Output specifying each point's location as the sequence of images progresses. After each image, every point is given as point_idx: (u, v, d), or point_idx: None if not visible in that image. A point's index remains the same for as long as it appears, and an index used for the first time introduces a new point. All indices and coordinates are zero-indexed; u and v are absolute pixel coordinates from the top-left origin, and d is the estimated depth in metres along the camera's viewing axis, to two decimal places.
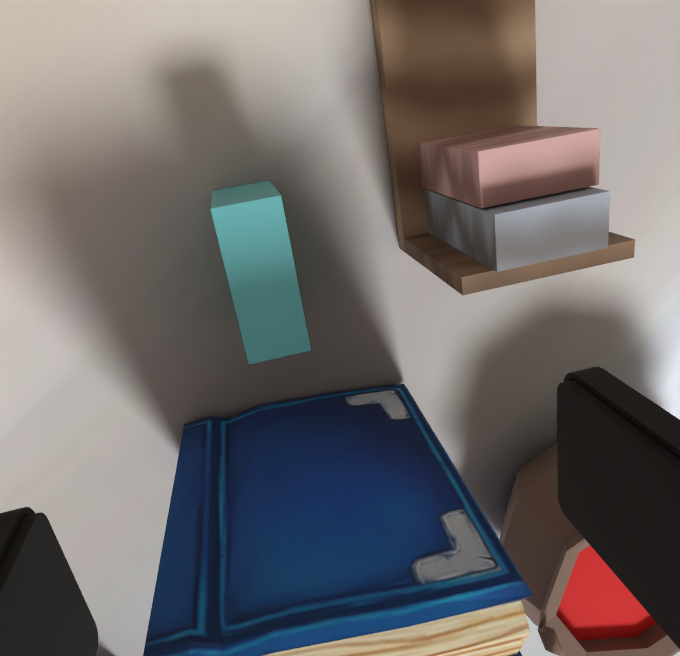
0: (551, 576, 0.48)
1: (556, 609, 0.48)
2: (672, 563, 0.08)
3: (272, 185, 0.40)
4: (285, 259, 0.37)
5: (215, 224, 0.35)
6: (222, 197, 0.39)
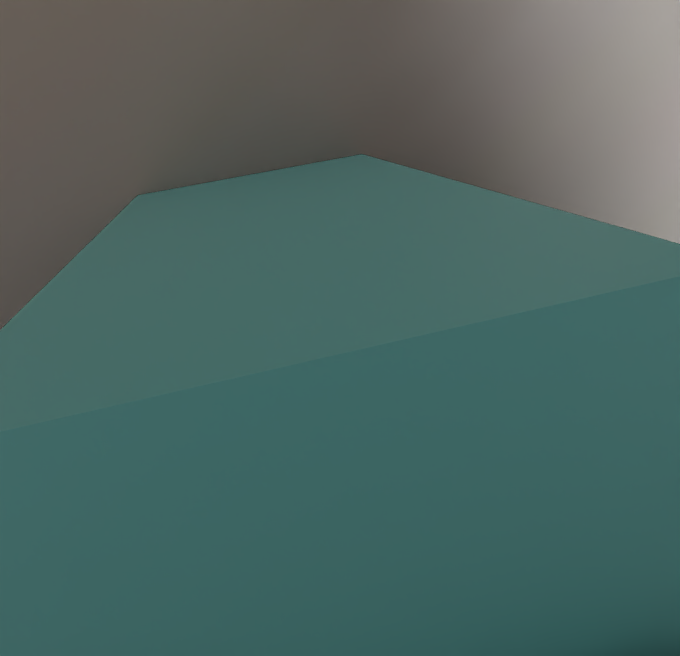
0: None
1: None
2: None
3: (414, 171, 0.08)
4: None
5: None
6: (148, 240, 0.06)
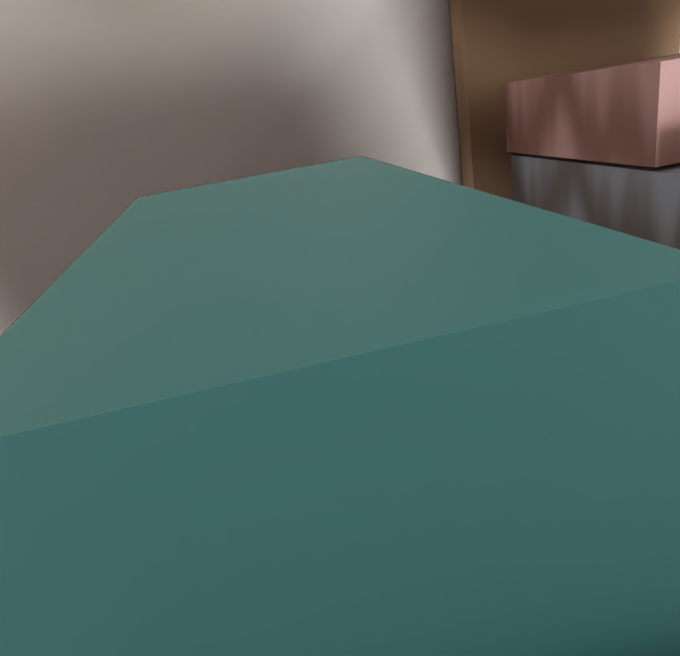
0: None
1: None
2: None
3: (414, 173, 0.08)
4: None
5: None
6: (149, 242, 0.06)
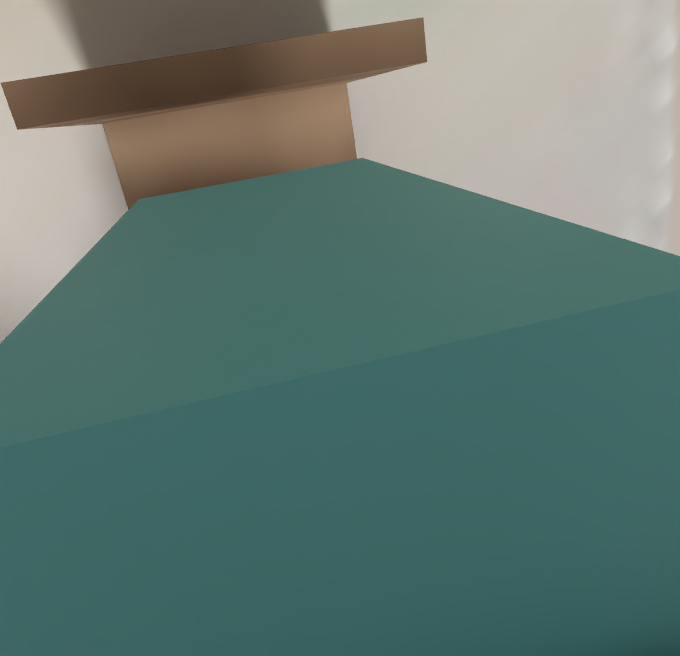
0: None
1: None
2: None
3: (414, 176, 0.08)
4: None
5: None
6: (150, 246, 0.06)
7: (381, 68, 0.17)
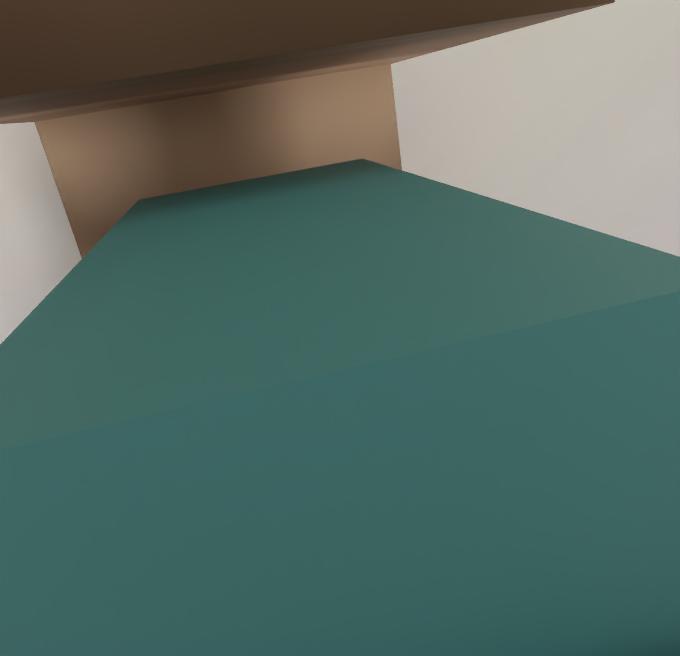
0: None
1: None
2: None
3: (414, 177, 0.08)
4: None
5: None
6: (150, 247, 0.06)
7: (527, 14, 0.08)
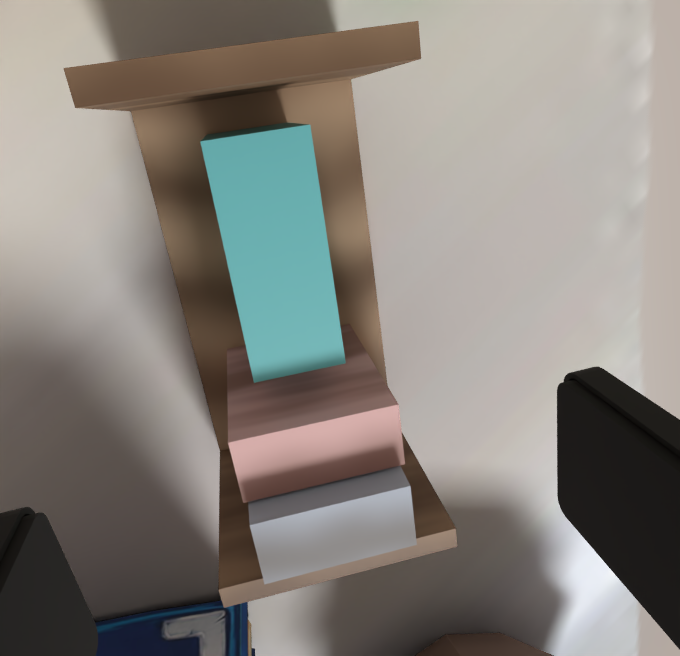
0: None
1: None
2: (672, 564, 0.08)
3: (293, 123, 0.28)
4: (313, 226, 0.24)
5: (207, 167, 0.23)
6: (220, 135, 0.26)
7: (382, 63, 0.20)
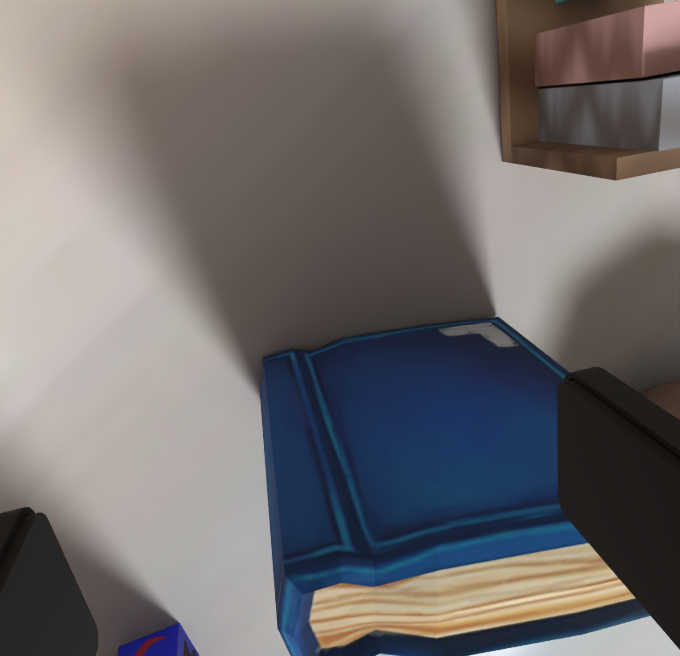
0: None
1: None
2: (672, 564, 0.08)
3: None
4: None
5: None
6: None
7: None
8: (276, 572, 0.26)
